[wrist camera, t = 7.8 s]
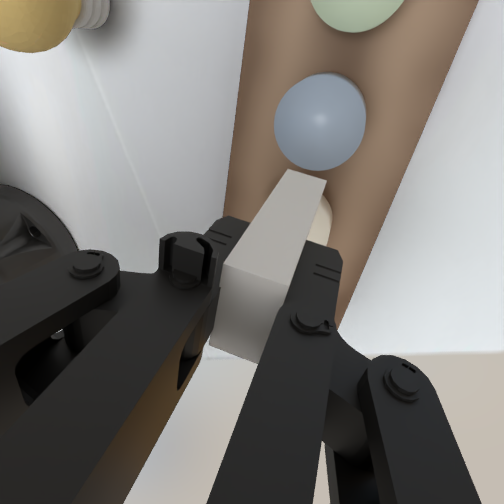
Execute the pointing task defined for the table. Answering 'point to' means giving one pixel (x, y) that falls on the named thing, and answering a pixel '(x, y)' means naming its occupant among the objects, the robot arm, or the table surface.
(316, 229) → the cream button
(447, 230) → the table surface
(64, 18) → the light bulb
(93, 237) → the table surface
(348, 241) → the button board
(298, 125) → the slate button
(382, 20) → the sage button
